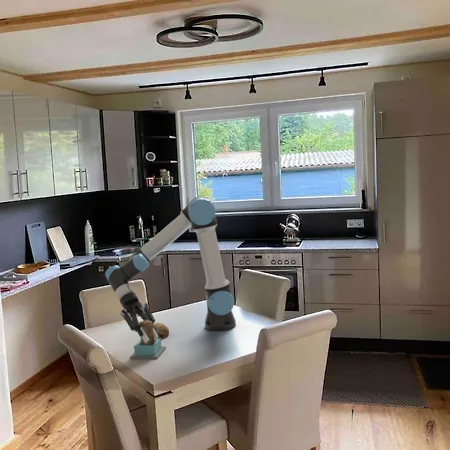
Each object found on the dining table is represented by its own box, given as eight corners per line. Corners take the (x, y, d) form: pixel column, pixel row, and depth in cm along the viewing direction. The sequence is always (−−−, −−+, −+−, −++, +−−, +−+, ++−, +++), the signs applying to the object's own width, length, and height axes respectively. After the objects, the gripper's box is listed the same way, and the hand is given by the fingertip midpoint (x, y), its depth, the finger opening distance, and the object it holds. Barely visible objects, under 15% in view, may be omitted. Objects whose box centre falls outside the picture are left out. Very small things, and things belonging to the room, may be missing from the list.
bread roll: (151, 347, 242) (152, 334, 239) (144, 333, 250) (144, 320, 246) (171, 342, 247) (172, 329, 243) (163, 328, 255) (164, 316, 251)
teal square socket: (166, 348, 228) (165, 337, 228) (157, 358, 217) (156, 347, 216) (140, 348, 231) (139, 337, 230) (130, 358, 219) (129, 347, 219)
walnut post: (149, 346, 226) (146, 319, 225) (154, 348, 223) (152, 321, 222) (141, 349, 223) (139, 322, 222) (147, 351, 220) (144, 324, 219)
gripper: (140, 297, 238) (164, 339, 228) (107, 306, 227) (132, 350, 217) (145, 287, 234) (171, 329, 224) (112, 295, 222) (138, 340, 212)
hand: (151, 339), depth 220 cm, fingers closed on walnut post, 4 cm apart
